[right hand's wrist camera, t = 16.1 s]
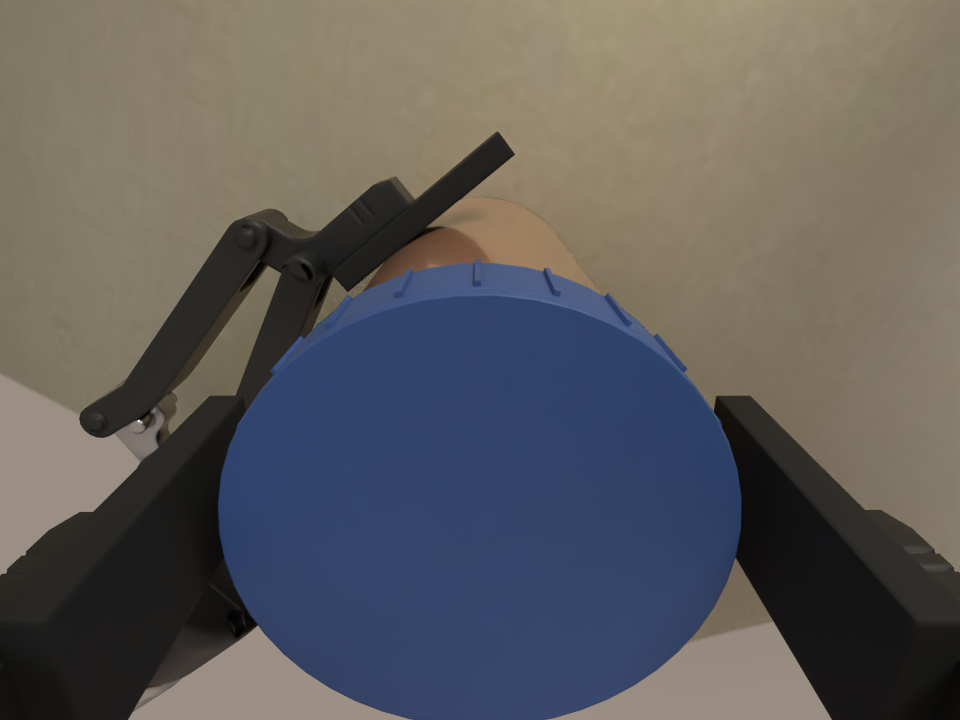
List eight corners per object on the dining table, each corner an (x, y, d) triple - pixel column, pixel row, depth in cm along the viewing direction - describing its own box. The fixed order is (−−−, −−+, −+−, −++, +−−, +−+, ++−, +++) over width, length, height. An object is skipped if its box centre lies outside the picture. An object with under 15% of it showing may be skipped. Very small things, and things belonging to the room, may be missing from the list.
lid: (302, 653, 14) (272, 741, 12) (209, 277, 11) (146, 312, 9) (688, 631, 14) (723, 718, 12) (716, 239, 11) (772, 266, 9)
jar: (352, 233, 25) (166, 388, 10) (548, 169, 24) (657, 236, 9) (421, 407, 28) (355, 723, 13) (597, 356, 27) (740, 634, 12)
